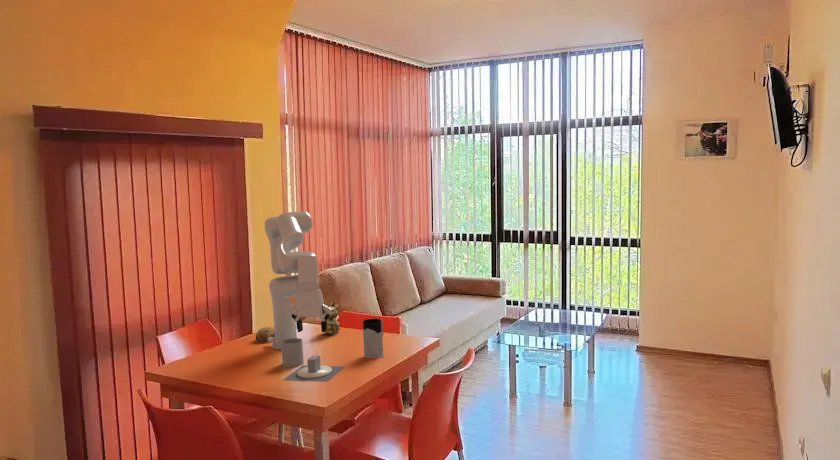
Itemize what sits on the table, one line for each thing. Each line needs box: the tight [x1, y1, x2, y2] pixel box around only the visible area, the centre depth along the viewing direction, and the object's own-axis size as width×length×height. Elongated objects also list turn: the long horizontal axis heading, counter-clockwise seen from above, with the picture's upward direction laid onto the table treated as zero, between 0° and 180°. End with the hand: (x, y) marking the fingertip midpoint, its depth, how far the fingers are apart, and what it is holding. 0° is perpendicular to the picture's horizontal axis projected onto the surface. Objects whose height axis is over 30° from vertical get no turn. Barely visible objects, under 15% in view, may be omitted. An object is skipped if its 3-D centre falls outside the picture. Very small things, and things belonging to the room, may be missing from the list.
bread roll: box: [255, 326, 275, 343], centre depth 297 cm, size 10×10×8 cm
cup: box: [281, 338, 305, 368], centre depth 254 cm, size 8×8×10 cm
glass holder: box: [362, 318, 386, 359], centre depth 263 cm, size 9×14×15 cm, turn 156°
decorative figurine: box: [323, 302, 341, 336], centre depth 303 cm, size 10×8×15 cm
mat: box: [282, 364, 346, 382], centre depth 240 cm, size 18×18×1 cm
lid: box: [297, 355, 332, 379], centre depth 240 cm, size 13×13×6 cm
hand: (312, 331), depth 238 cm, fingers open, 9 cm apart
